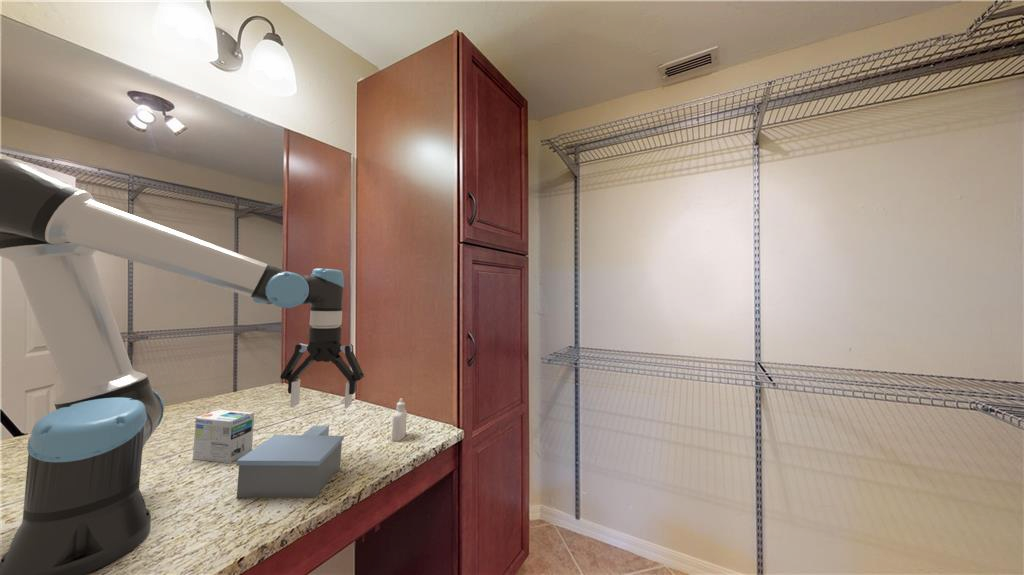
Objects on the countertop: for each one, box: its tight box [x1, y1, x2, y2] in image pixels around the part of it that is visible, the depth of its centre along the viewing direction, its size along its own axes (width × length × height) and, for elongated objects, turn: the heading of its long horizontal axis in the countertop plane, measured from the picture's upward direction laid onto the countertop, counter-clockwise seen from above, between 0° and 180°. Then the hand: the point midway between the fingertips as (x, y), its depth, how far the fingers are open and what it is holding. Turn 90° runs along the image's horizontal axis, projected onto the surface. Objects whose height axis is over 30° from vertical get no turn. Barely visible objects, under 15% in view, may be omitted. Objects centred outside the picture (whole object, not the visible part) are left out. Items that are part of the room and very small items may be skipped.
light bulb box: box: [192, 409, 255, 464], centre depth 85 cm, size 11×7×11 cm, turn 84°
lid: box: [236, 425, 345, 466], centre depth 78 cm, size 17×19×2 cm
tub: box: [236, 441, 343, 499], centre depth 75 cm, size 16×12×7 cm
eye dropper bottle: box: [391, 398, 408, 442], centre depth 101 cm, size 4×6×12 cm
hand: (321, 405), depth 87 cm, fingers open, 13 cm apart
